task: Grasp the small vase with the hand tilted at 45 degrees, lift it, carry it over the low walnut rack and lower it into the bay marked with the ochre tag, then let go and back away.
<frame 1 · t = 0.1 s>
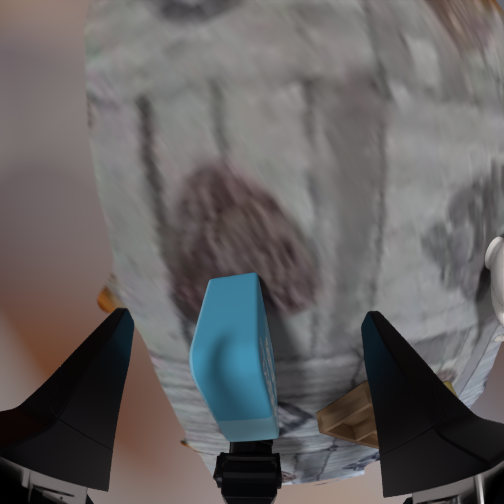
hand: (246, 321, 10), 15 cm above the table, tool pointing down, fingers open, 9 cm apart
rack: (383, 417, 38), on the table
data package: (245, 317, 29), on the table
teapot: (494, 252, 25), on the table
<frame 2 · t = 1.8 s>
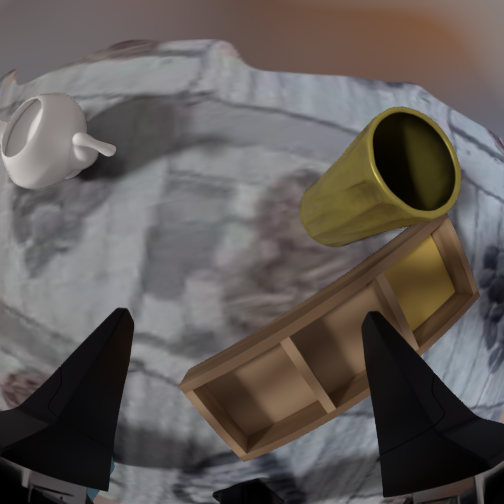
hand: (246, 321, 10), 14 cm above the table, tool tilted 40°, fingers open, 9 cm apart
vase: (332, 212, 24), on the table
rack: (343, 335, 23), on the table
teapot: (73, 158, 24), on the table
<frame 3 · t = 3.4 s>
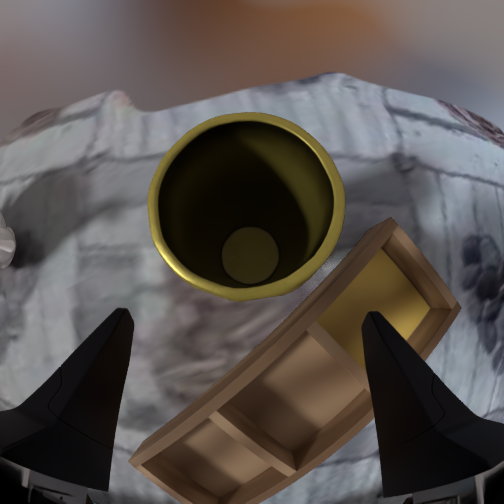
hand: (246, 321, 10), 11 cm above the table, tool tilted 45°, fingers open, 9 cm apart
vase: (250, 256, 21), on the table
rack: (294, 391, 20), on the table
teapot: (5, 246, 21), on the table
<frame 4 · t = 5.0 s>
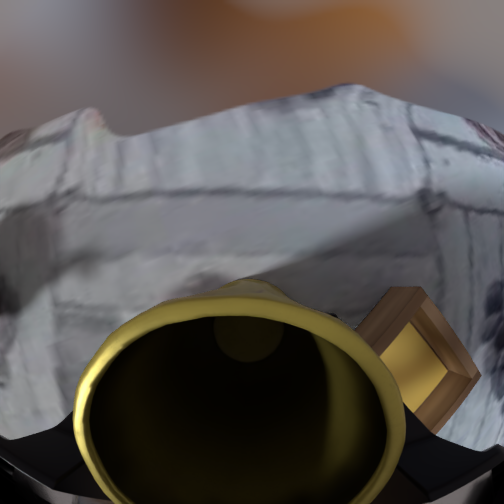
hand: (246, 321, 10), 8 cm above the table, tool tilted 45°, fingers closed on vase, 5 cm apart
vase: (248, 326, 17), on the table, touching gripper
rack: (296, 459, 16), on the table
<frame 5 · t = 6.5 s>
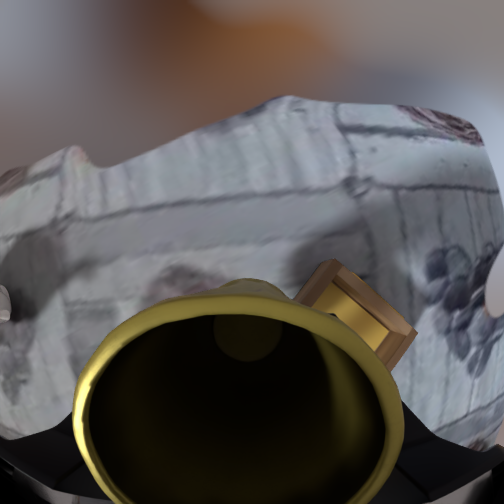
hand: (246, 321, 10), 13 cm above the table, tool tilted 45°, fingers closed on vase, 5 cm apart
vase: (248, 325, 17), point 5 cm above the table, touching gripper
rack: (263, 413, 22), on the table
teapot: (2, 302, 23), on the table
when the fingers open (9 cm above the table, at t = 8.2 s): vase stays where it is, resting on rack.
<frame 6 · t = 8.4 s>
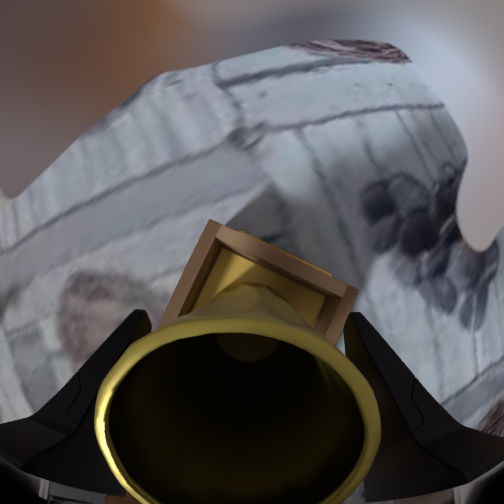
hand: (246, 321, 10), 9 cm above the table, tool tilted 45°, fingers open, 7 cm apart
vase: (249, 327, 18), point 1 cm above the table, touching rack
rack: (199, 420, 18), on the table
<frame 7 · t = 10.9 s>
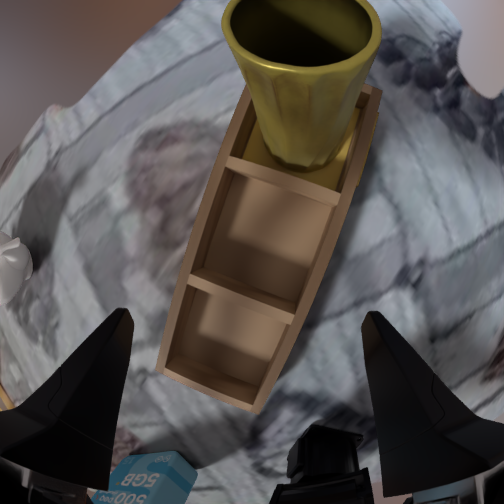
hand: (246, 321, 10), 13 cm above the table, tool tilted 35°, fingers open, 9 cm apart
vase: (302, 136, 20), point 1 cm above the table, touching rack
rack: (266, 237, 22), on the table
data package: (160, 462, 28), on the table
teapot: (25, 261, 28), on the table
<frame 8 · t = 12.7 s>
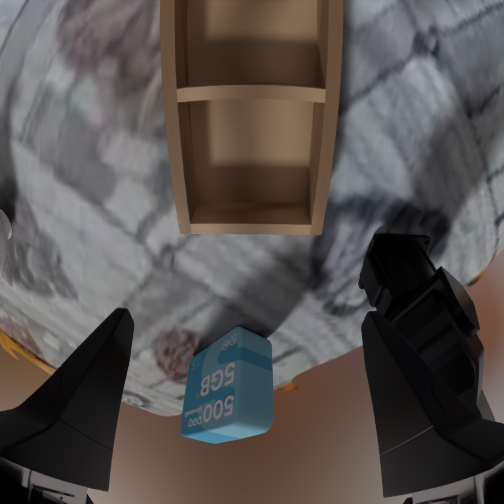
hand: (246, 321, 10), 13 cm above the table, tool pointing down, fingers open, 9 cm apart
rack: (252, 27, 13), on the table
data package: (227, 347, 34), on the table
teapot: (0, 221, 22), on the table
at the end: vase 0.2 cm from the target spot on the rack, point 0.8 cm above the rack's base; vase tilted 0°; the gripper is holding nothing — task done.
